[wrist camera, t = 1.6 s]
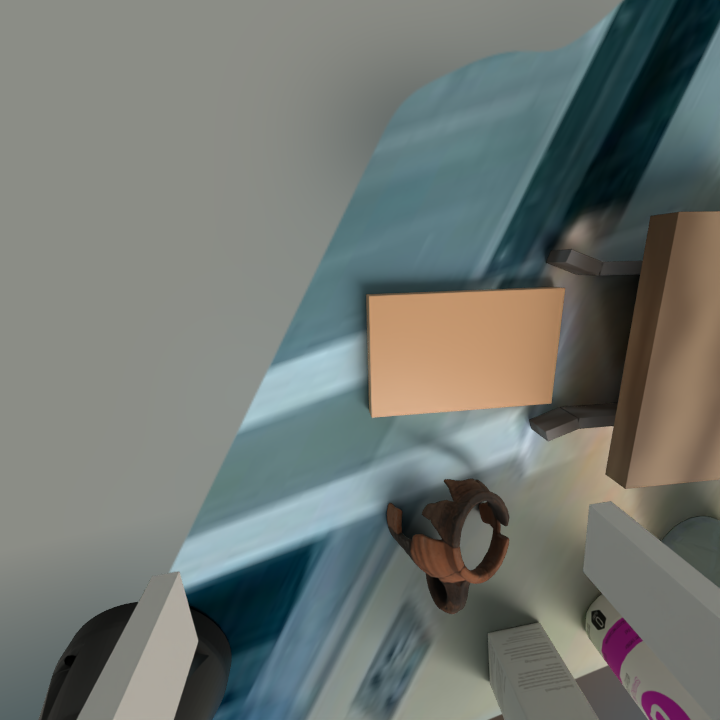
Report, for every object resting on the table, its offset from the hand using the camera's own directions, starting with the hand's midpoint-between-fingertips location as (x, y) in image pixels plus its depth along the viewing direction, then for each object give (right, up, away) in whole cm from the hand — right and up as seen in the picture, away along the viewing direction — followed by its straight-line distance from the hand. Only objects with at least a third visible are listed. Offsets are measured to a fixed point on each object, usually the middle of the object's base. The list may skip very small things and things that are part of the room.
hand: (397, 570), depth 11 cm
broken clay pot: (+6, -9, +24) cm, 26 cm away
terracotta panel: (+7, +8, +20) cm, 22 cm away
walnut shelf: (+23, +8, +21) cm, 32 cm away
